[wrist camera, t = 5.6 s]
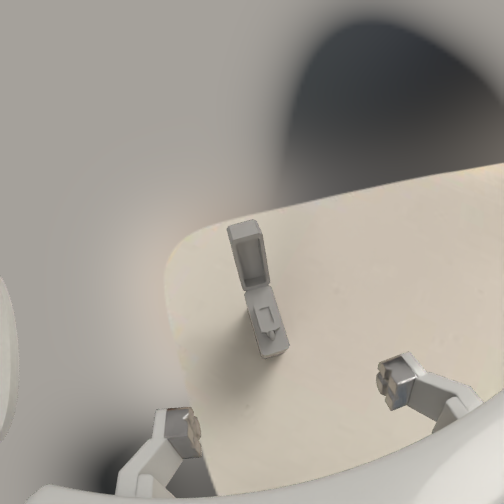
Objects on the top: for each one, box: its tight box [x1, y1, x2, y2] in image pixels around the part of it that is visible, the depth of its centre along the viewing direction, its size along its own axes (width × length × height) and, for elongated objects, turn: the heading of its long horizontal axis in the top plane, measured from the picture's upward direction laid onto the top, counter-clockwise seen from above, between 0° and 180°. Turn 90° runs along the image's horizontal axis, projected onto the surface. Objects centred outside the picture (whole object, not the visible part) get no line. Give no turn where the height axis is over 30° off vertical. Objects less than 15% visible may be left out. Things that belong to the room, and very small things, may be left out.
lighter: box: [227, 219, 290, 359], centre depth 18 cm, size 7×2×8 cm, turn 16°
